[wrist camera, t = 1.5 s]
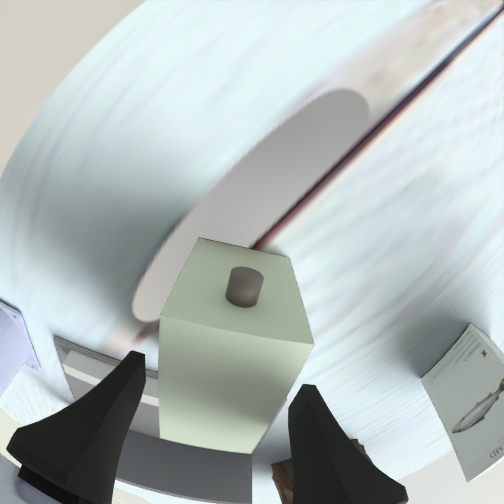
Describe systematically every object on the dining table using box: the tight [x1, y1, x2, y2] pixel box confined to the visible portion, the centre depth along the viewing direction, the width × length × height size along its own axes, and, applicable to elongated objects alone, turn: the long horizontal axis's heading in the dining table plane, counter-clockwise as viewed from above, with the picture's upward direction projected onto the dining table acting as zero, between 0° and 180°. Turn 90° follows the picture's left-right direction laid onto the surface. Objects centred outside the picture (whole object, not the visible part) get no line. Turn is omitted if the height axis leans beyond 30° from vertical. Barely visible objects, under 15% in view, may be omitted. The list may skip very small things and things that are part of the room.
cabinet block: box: [158, 237, 314, 454], centre depth 13 cm, size 5×10×7 cm, turn 166°
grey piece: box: [53, 336, 287, 504], centre depth 18 cm, size 20×13×7 cm, turn 76°
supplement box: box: [421, 324, 504, 482], centre depth 13 cm, size 7×7×13 cm
